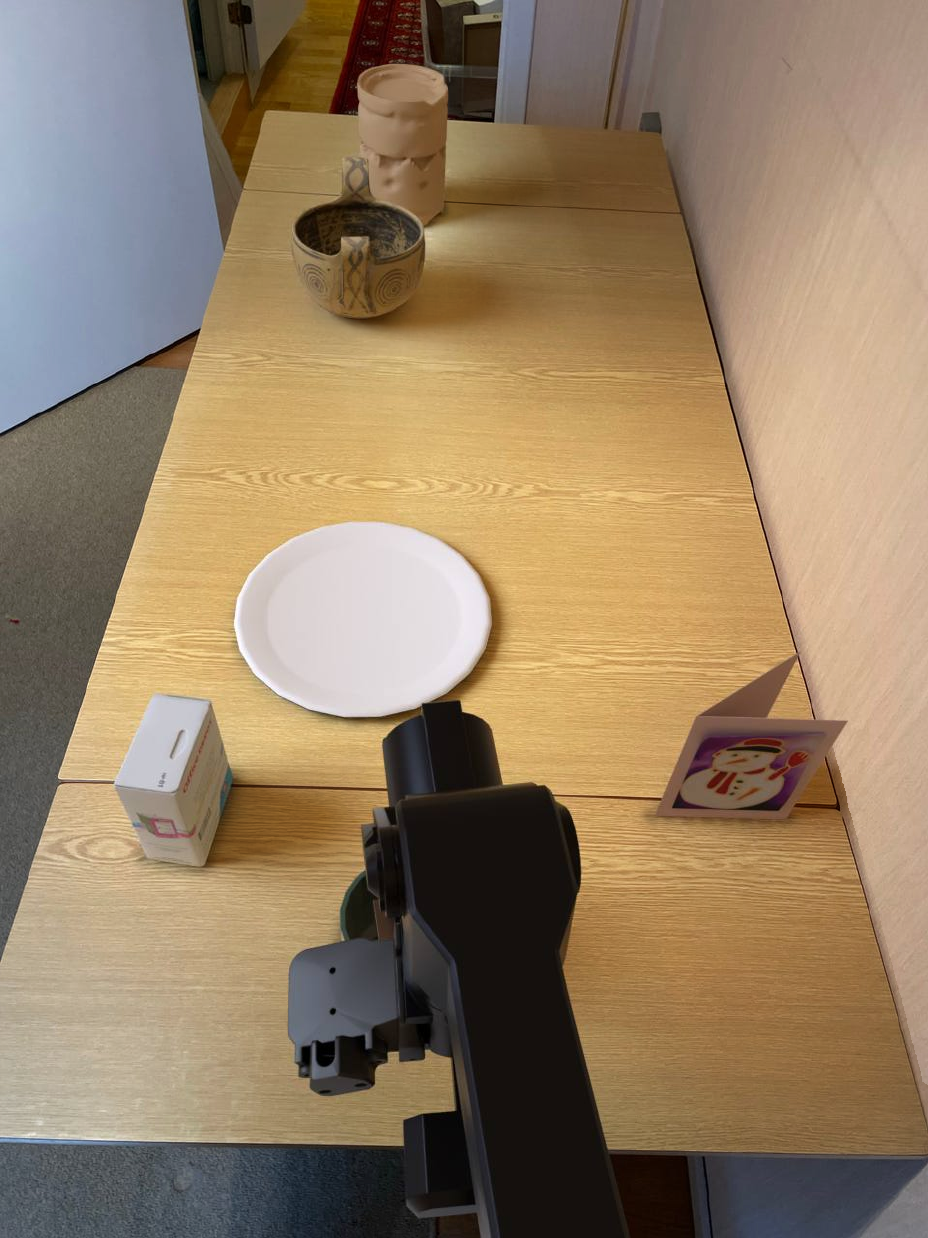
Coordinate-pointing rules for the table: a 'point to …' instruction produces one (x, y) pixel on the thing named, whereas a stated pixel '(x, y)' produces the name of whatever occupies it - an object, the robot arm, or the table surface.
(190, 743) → the ink box
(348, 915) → the green and tan cup
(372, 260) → the ceramic bowl
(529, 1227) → the robot arm
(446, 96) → the container
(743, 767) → the greeting card
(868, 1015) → the table surface
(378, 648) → the plate
